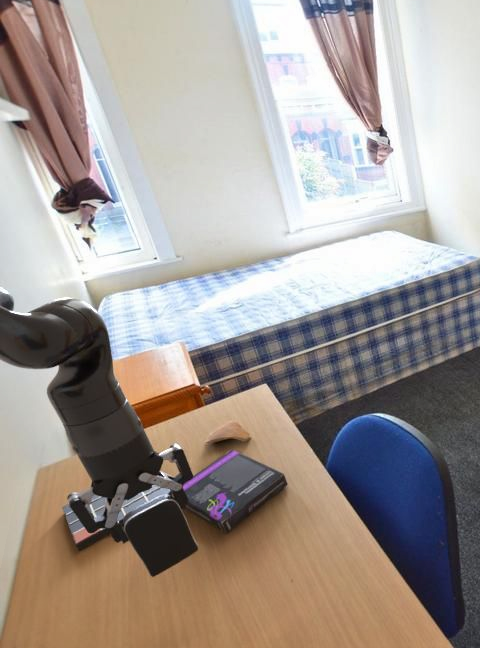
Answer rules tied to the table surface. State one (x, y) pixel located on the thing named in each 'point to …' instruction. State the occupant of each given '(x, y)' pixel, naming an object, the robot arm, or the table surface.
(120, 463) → the robot arm
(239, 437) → the pottery shard
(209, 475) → the box
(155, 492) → the board
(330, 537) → the table surface
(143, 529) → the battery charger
